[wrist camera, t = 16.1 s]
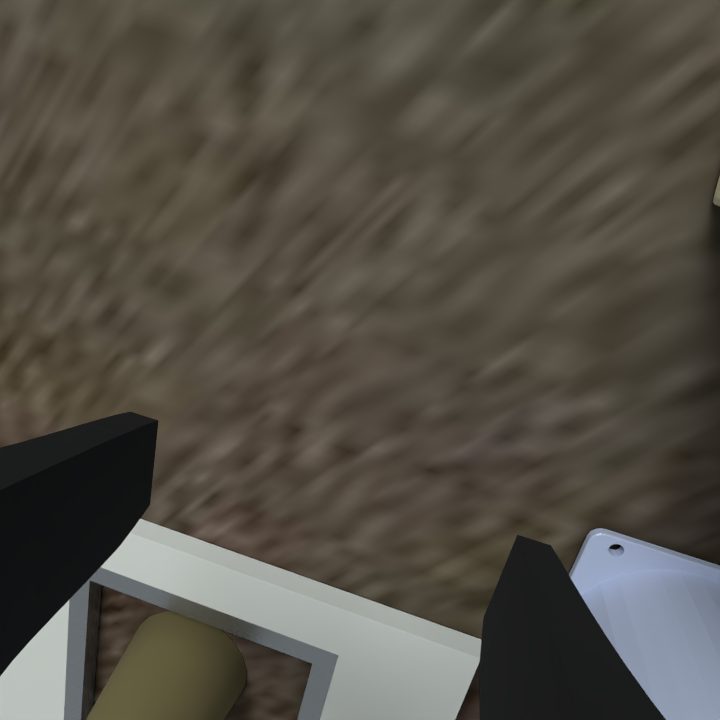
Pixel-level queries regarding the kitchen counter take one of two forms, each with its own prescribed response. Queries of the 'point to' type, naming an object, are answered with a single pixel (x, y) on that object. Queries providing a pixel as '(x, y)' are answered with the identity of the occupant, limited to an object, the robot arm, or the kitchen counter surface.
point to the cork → (173, 673)
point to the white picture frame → (250, 635)
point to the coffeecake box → (717, 194)
